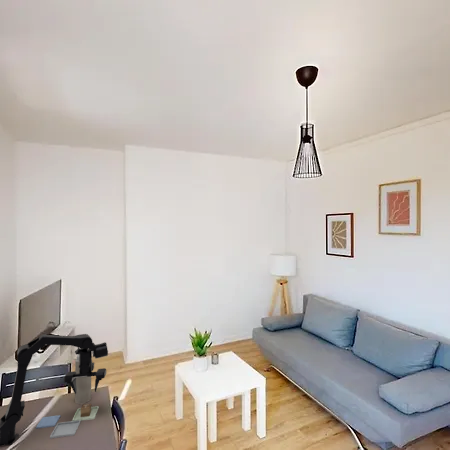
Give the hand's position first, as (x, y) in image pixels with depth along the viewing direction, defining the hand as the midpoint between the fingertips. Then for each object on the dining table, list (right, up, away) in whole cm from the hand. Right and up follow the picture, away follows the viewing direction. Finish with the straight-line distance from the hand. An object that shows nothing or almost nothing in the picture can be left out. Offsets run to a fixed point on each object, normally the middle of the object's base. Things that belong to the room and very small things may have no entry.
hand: (85, 392), depth 150 cm
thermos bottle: (-8, -12, +14) cm, 20 cm away
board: (-15, -11, -6) cm, 20 cm away
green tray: (0, -11, 0) cm, 11 cm away
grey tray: (-4, -11, -12) cm, 17 cm away
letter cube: (0, -11, 0) cm, 11 cm away
